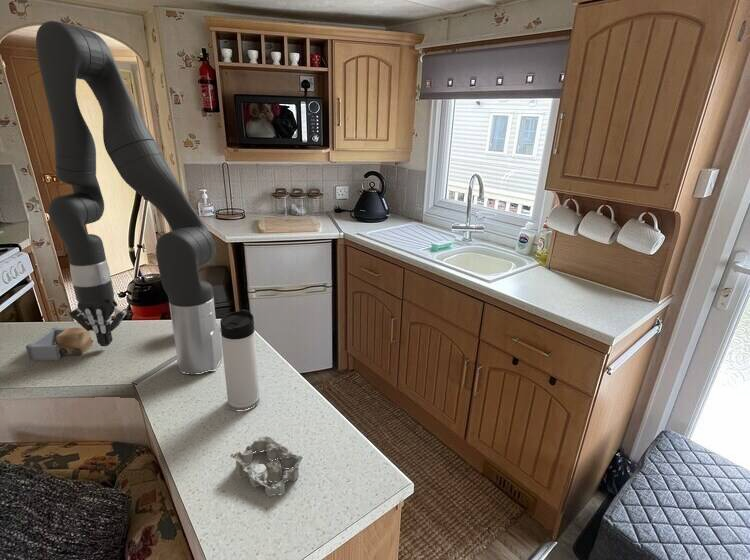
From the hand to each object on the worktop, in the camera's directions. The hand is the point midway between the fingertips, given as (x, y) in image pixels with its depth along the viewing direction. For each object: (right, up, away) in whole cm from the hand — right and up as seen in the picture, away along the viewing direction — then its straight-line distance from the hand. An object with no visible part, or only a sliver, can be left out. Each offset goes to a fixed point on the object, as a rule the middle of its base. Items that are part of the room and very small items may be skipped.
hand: (105, 344), depth 104 cm
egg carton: (+49, -17, -33) cm, 61 cm away
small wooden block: (-7, -1, 0) cm, 7 cm away
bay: (-12, -1, 0) cm, 12 cm away
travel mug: (+39, -10, -16) cm, 44 cm away
